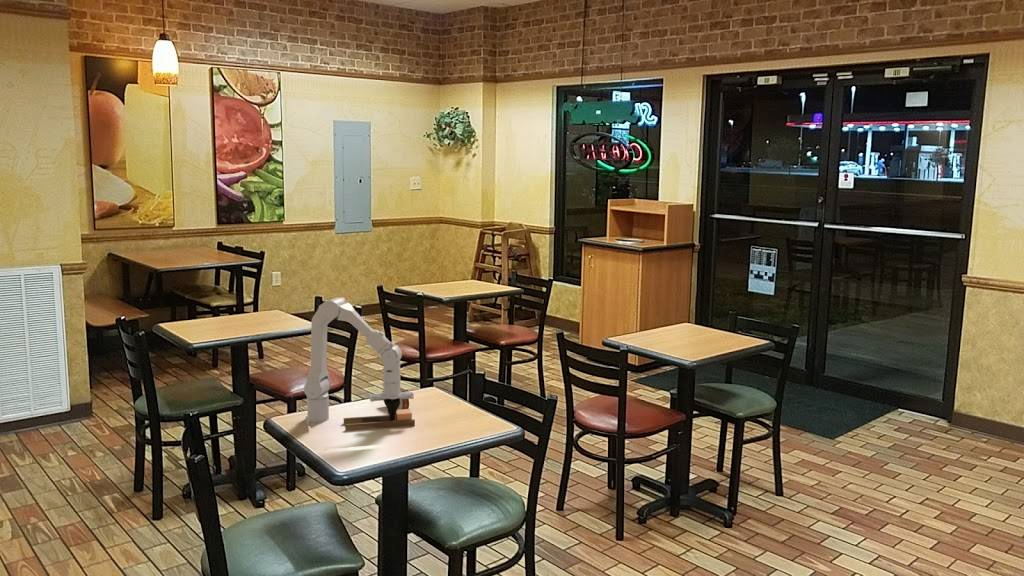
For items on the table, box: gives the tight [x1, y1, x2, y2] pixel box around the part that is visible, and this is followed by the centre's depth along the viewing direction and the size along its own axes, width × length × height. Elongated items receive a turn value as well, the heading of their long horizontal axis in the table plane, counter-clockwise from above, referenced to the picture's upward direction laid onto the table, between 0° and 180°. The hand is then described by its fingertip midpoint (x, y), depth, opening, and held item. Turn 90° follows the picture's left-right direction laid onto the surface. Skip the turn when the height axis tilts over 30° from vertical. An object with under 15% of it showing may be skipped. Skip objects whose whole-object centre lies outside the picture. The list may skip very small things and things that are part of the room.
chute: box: [343, 414, 416, 432], centre depth 277 cm, size 8×23×3 cm, turn 107°
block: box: [395, 408, 413, 421], centre depth 279 cm, size 5×5×4 cm
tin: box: [382, 388, 410, 410], centre depth 297 cm, size 15×3×8 cm, turn 39°
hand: (392, 420), depth 278 cm, fingers closed
